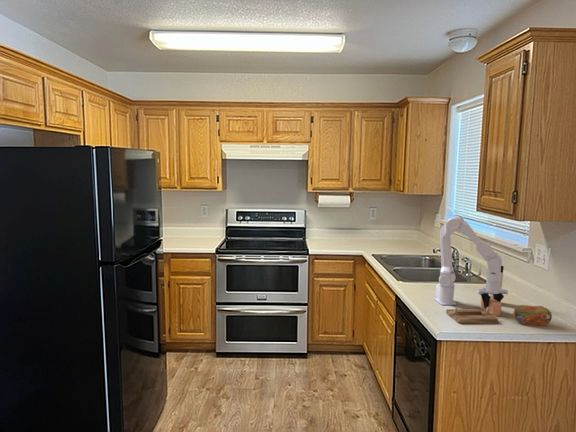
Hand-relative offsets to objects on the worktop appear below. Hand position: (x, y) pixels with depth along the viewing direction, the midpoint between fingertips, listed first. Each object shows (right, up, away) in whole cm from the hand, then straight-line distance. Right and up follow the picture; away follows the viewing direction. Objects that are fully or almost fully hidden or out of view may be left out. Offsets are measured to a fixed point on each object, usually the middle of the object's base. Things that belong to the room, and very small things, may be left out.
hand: (490, 308), depth 195 cm
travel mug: (+8, 0, +13) cm, 15 cm away
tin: (+11, -4, -14) cm, 18 cm away
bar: (0, -2, 0) cm, 2 cm away
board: (-13, -2, -9) cm, 16 cm away
